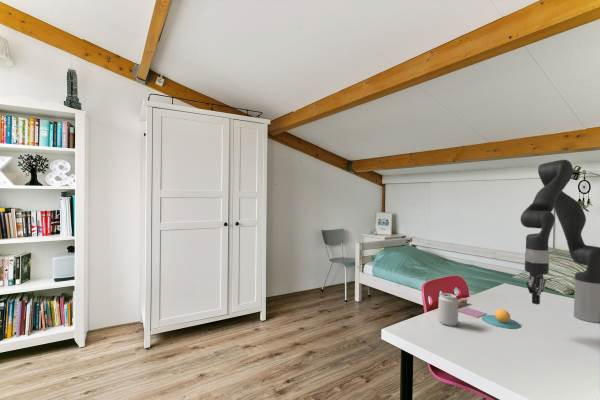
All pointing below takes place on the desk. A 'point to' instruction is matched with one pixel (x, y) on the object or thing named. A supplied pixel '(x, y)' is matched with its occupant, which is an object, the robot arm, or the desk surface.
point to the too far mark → (472, 312)
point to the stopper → (462, 301)
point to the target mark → (493, 321)
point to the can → (448, 309)
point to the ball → (502, 316)
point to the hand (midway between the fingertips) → (535, 303)
